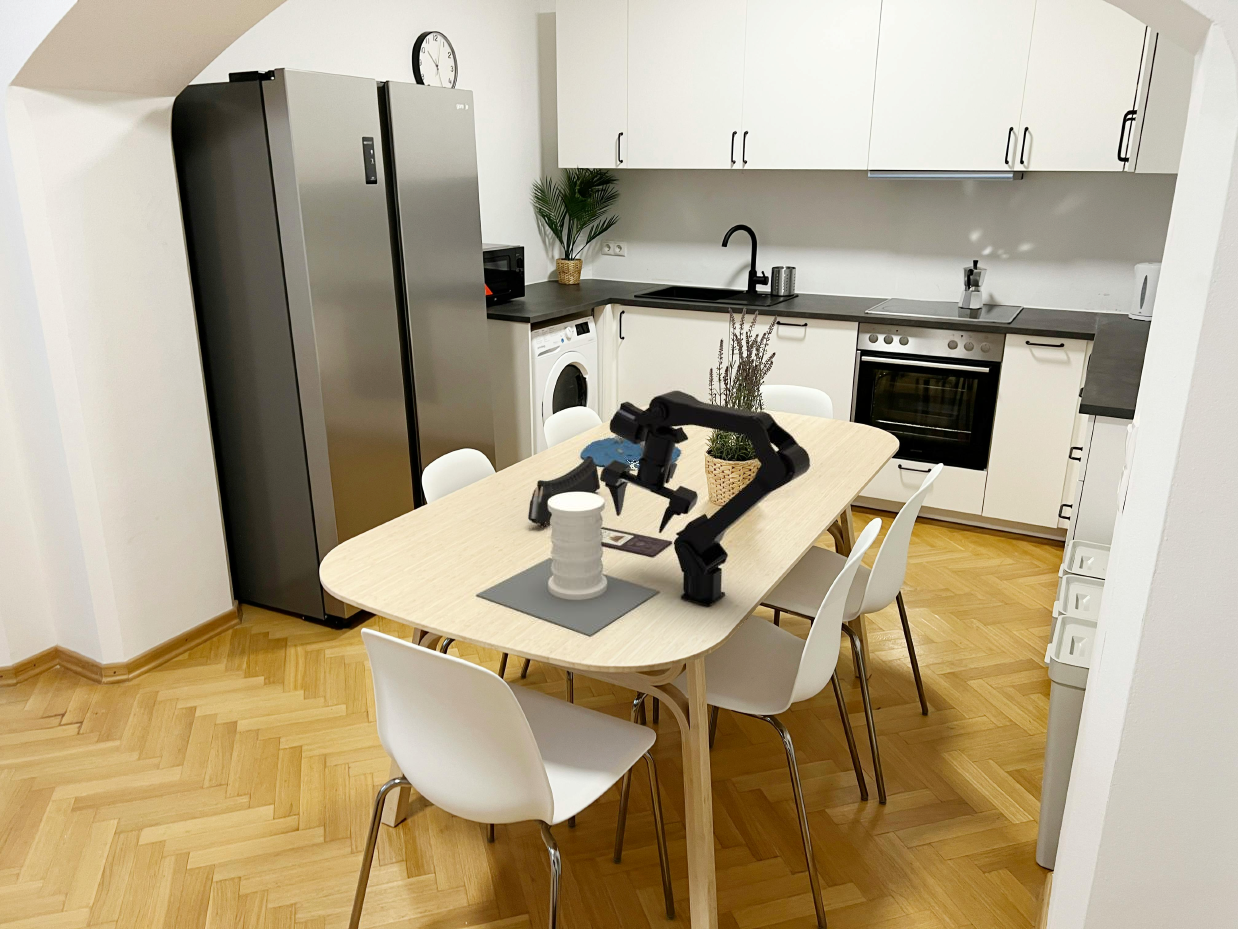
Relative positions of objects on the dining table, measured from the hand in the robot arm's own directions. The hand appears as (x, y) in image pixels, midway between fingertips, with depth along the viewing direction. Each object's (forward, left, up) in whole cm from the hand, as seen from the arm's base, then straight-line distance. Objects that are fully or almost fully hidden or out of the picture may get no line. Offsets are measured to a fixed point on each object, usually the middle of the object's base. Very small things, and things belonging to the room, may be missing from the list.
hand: (639, 523), depth 177 cm
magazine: (+37, -22, -12) cm, 45 cm away
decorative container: (+7, +11, -12) cm, 18 cm away
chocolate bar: (+13, -14, -12) cm, 23 cm away
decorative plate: (+51, -70, -12) cm, 88 cm away
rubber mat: (+7, +14, -12) cm, 20 cm away
